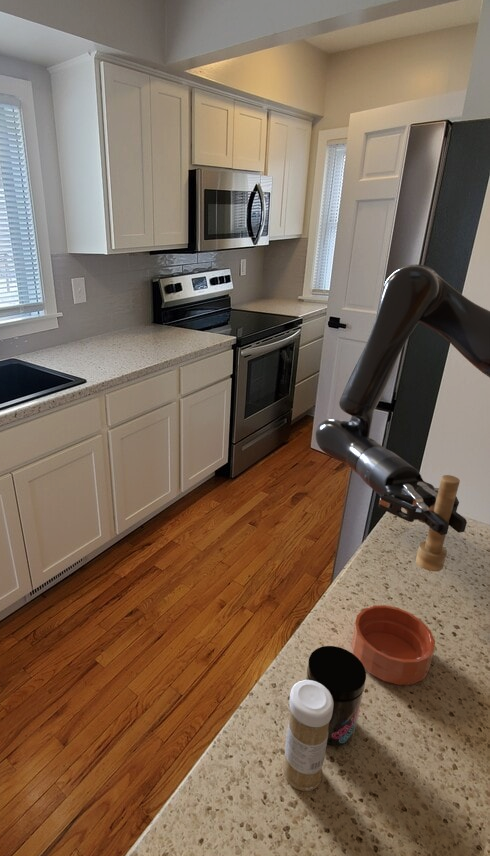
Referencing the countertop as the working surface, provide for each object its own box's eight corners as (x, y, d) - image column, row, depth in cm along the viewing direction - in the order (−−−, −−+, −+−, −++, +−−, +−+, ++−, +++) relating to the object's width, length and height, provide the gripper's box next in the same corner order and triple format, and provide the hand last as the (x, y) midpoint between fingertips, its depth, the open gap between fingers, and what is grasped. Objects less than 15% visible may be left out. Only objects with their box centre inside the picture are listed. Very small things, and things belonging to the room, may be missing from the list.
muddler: (432, 554, 82) (453, 471, 75) (448, 569, 78) (472, 483, 71) (410, 557, 81) (429, 474, 74) (426, 573, 78) (448, 487, 71)
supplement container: (321, 758, 60) (331, 700, 55) (291, 710, 66) (297, 654, 61) (366, 739, 62) (379, 681, 57) (332, 694, 68) (341, 639, 63)
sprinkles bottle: (308, 749, 61) (319, 673, 55) (328, 787, 57) (342, 709, 51) (275, 759, 60) (283, 683, 54) (293, 798, 56) (303, 720, 50)
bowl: (398, 623, 79) (403, 600, 77) (444, 680, 69) (452, 655, 67) (338, 634, 77) (341, 610, 75) (376, 694, 67) (382, 668, 65)
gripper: (354, 459, 86) (418, 513, 71) (425, 451, 88) (501, 502, 73) (349, 496, 89) (408, 555, 74) (417, 487, 91) (489, 543, 76)
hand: (454, 528), depth 73 cm, fingers closed on muddler, 2 cm apart
